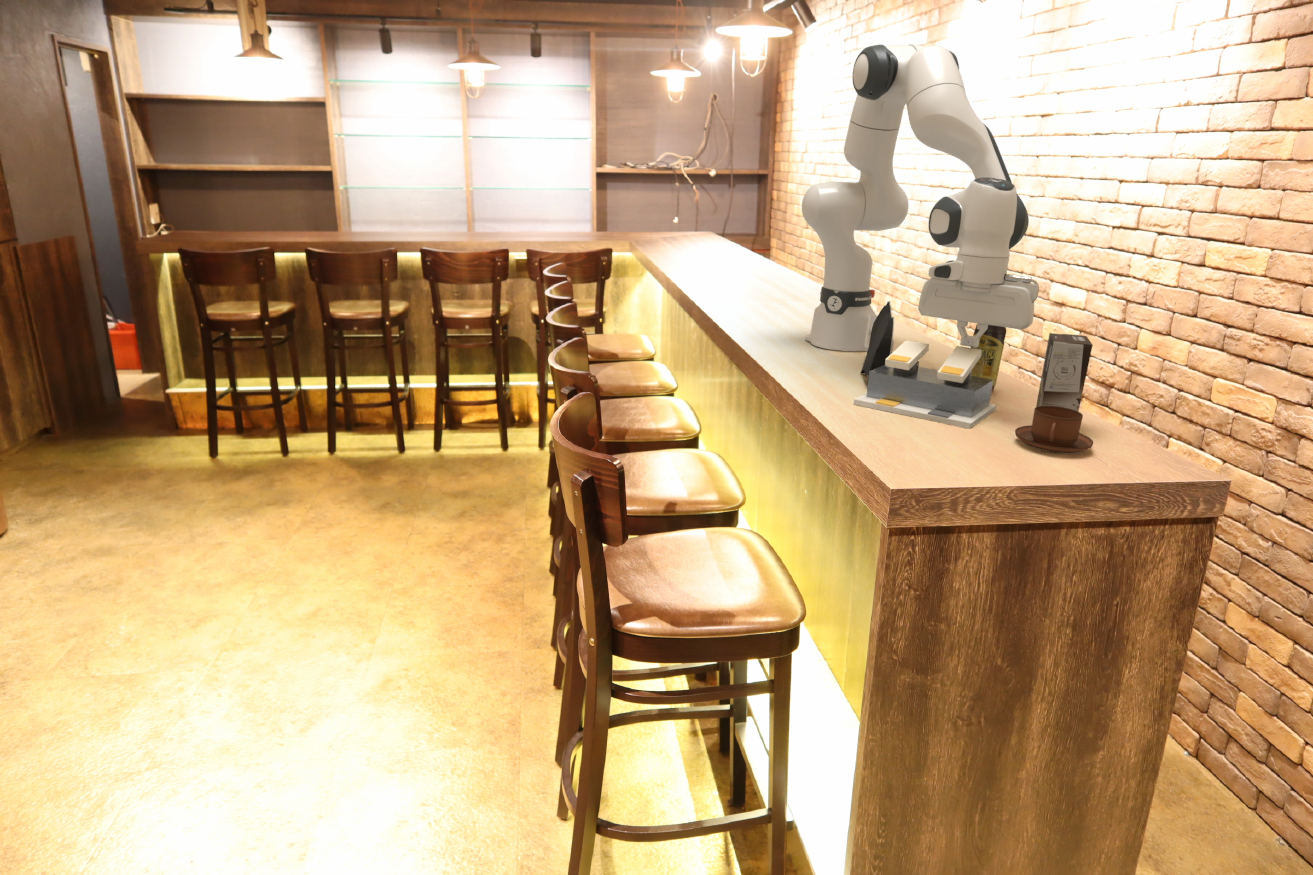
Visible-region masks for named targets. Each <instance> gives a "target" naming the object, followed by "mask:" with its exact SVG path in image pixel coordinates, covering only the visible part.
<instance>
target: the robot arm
mask: <svg viewBox="0 0 1313 875" xmlns="http://www.w3.org/2000/svg"><path fill="white" fill-rule="evenodd" d="M852 84H853V89H854V90H855V92H856V94H857V95H856V98H855V101H854V105H853V108H852V111H851V114H850V115H851V116H850V119H849V123H848V124H849V125H848V130H847V134H846V138H845V142H844V147H843V154H844V157H845V160H846V161H847V163H848V164H850V165H851V166H852V167H854V168H855V169H856V170H858V171H859V172H860V176H859V180H858V181H856V182H852V181H848V182H847V181H827V182H821V183H817V184H813V185H811V186H810V187H809V188H808V189H807V191H806V192H805V194H804V195H803V198H802V202H801V212H802V216H803V219H804V220H805V222H806V224H807V225H808V226H810V228H811V229H813V230H814V231H815V233H816V234H817V236H818V237H819V239H820V242H821V244H822V247H823V251H824V252H823V253H824V276H823V286H822V287H821V289H820V293H819V297H820V298H819V301H820V304H819V305H818V306H817V307H816V308H814V311H813V317H812V322H811V328H810V334H807V335H806V336H805V341H807V342H809V343H810V344H812V346H815V347H817V348H822V349H827V350H834V351H841V352H867V351H868V348H869V342H870V336H871V331H872V327H873V323H874V321H875V320H876V318H877V316H878V314H876V312H875V311H874V309H873V308H872V299H874V298H875V296H876V289H870V287H871V278H872V270H873V268H872V267H873V259H872V256H871V254H870V253H869V252H868V251H867V250H866V249H864V248H863V247H862V246H860V245H858V244H857V243H856V240H855V236H854V235H855V234H854V232H855V231H867V232H870V231H872V232H875V231H876V232H879V231H880V232H881V231H886V230H891V229H892V230H893V229H895V228H898V227H899V226H901V225H902V223H903V222H904V221H905V219H906V217H907V215H908V212H909V211H908V210H909V198H908V196H907V194H906V192H905V190H904V189H903V188H902V187H901V186H900V185H899V183H898V181H897V180H896V178H895V177H896V176H895V174H894V169H893V168H894V166H893V162H894V154H895V148H896V144H897V138H898V135H899V131H900V128H901V123H902V118H903V113H904V109H905V106H906V109H907V115H908V120H909V125H910V127H911V131H912V132H913V134H914V136H915V137H916V140H918V141H919V142H920V143H922V144H923V145H925V146H927V147H929V149H933V150H936V151H939V152H942V153H944V154H948V155H950V156H952V157H954V158H956V159H958V160H960V161H961V162H963V163H964V164H965V165H967V167H969V169H970V170H971V172H972V174H973V176H974V178H975V179H973V180H971V182H970V184H969V185H968V186H967V187H966V188H965V189H963V190H960V191H959V192H957V193H954V194H952V195H948V196H943V197H942V198H940V199H938V201H937V202H936V203H935V204H934V205H933V207H932V209H931V211H930V213H929V217H928V232H929V234H930V237H931V239H932V240H933V241H934V242H935V243H936V244H937V245H938V246H941V247H945V248H955V249H956V248H958V249H959V250H958V252H957V256H956V259H955V260H948V261H946V262H942V263H938V264H934V265H932V266H930V267H929V268H928V277H929V279H927V280H926V281H925V282H924V284H923V287H922V289H921V293H920V297H919V302H918V307H917V308H918V311H919V314H920V315H921V316H923V317H929V318H930V317H931V318H936V319H938V318H939V319H945V320H952V321H957V323H956V327H957V330H958V333H959V335H960V343H959V344H960V345H959V346H961V347H968V348H970V347H975V348H976V347H978V345H979V340H980V337H981V336H982V335H983V334H984V333H985V331H986V330H987V329H988V325H993V326H1000V327H1006V329H1007V328H1008V329H1017V330H1021V331H1022V330H1025V329H1028V328H1029V327H1031V325H1032V324H1033V321H1034V316H1035V301H1036V300H1037V298H1038V297H1039V296H1038V295H1039V291H1040V286H1039V283H1038V282H1037V281H1036V280H1035V279H1033V278H1032V277H1031V276H1022V275H1021V276H1020V275H1017V274H1016V275H1015V274H1008V267H1009V261H1010V250H1011V249H1012V248H1014V247H1015V246H1017V245H1018V243H1019V242H1020V241H1021V240H1023V238H1024V236H1025V235H1026V233H1027V231H1028V227H1029V222H1030V221H1029V213H1028V211H1027V208H1026V206H1025V204H1024V202H1023V200H1022V198H1020V196H1019V194H1018V193H1017V192H1018V191H1017V187H1016V185H1014V184H1013V182H1012V180H1011V177H1010V175H1009V173H1008V169H1007V167H1006V164H1005V161H1004V158H1003V156H1002V154H1001V151H1000V149H999V146H998V144H997V142H996V140H995V138H994V135H993V134H992V131H991V130H990V128H989V127H988V126H987V125H986V124H985V123H984V122H983V121H981V119H980V118H979V117H978V115H977V114H976V112H975V111H974V109H973V107H972V106H971V103H970V101H969V99H968V96H967V93H966V88H965V85H964V80H963V78H962V74H961V72H960V64H959V61H958V57H957V56H956V54H955V53H954V52H952V51H951V50H949V49H948V48H946V47H945V46H942V45H928V46H924V45H919V44H912V43H911V44H903V45H902V44H896V45H895V44H894V45H893V44H892V45H884V44H875V45H870V46H867V47H865V48H863V49H862V50H861V52H860V53H859V54H858V56H857V57H856V59H855V62H854V65H853V69H852ZM969 323H972V324H973V323H974V324H976V325H977V329H980V330H979V332H978V333H977V334H976V335H975V336H973V335H968V332H967V330H966V329H967V328H966V327H967V326H968V324H969Z"/></svg>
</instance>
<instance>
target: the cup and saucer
mask: <svg viewBox="0 0 1313 875" xmlns="http://www.w3.org/2000/svg"><path fill="white" fill-rule="evenodd" d="M1083 417H1084V414H1083V413H1082V412H1080V411H1079V412H1078V411H1076V410H1072V409H1069V408H1064V407H1058V406H1038V407H1036V406H1035V407H1034V411H1033V417H1032V422H1031V425H1023V426H1018V427H1017V428H1015V431H1014V432H1015V436H1016V437H1017V439H1018V440H1019V441H1020V442H1022V443H1023V444H1025V445H1026V446H1030V447H1031V448H1035V449H1038V450H1040V451H1045V452H1049V453H1055V454H1057V453H1058V454H1077V453H1084V452H1085V451H1087V450H1090V449H1091V448H1092V447H1093V446H1094V440H1093V439H1092V438H1091V437H1090V436H1087V435H1086V434H1083V433H1082V432H1080V430H1081V425H1082V422H1083Z"/></svg>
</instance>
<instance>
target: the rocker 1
mask: <svg viewBox="0 0 1313 875" xmlns="http://www.w3.org/2000/svg"><path fill="white" fill-rule="evenodd" d="M929 350H930V344H929V343H924V342H919V341H913V340H905V341H903V342H902V343H901V344H900V345H899V346H898V347H897V348H896V349H895V350H893V351H892V354H891V355H889V356H888V357H887V358H886V359H885V366H888V367H893V368H899V369H904V370H910V369H911V368H912V367H913V366H914V365H915V364H916V363H917V362H918V361H919V362H920V360H921V359H922V358H923V357H924V356H925V355H926V354H927V353H928V352H929Z"/></svg>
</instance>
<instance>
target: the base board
mask: <svg viewBox="0 0 1313 875" xmlns="http://www.w3.org/2000/svg"><path fill="white" fill-rule="evenodd" d="M866 396H867V392H866V393H865V394H862V395H860V396H857V397H856V398H853V405H854V406H855V405H856V406H859V407H865V408H869V409H875V410H879V411H884V412H888V413H893V414H898V415H902V416H906V417H912V418H915V419H920V420H921V419H922V420H924V421H926V420H927V421H931V422H936V423H940V424H945V425H950V426H955V427H959V428H964V429H968V430H971V429H972V428H973V427H975V426H976V425H977V424H979V423H980V422H982V421H983V420H985V418H987V417H989V416H990V415H991V414H993V413H994V412H995V411H996V410H997V407H998V406H997V405H998V404H994V403H990V404H989V406H988V407H986V408H985V409H983V410H982V411H981V412H979V413H978V414H976V415H975V416H973V417H972V418H969V417H964V416H959V415H954V414H953V413H950V412H945V411H940V410H935V409H933V410H929V409H925V408H920V407H915V406H910V405H905V404H900V402H896V401H891V400H886V399H875V398H871V397H866Z"/></svg>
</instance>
